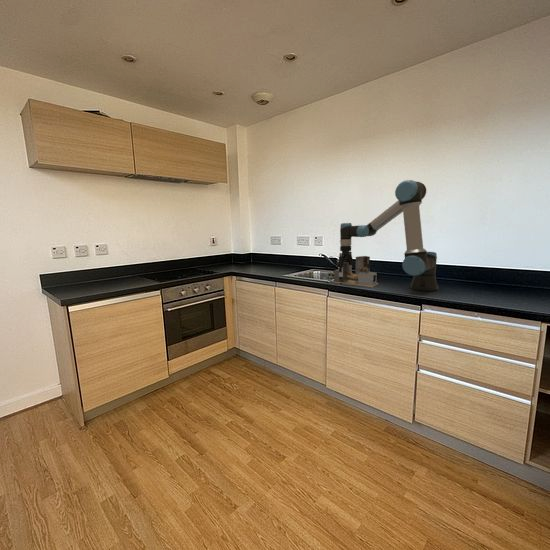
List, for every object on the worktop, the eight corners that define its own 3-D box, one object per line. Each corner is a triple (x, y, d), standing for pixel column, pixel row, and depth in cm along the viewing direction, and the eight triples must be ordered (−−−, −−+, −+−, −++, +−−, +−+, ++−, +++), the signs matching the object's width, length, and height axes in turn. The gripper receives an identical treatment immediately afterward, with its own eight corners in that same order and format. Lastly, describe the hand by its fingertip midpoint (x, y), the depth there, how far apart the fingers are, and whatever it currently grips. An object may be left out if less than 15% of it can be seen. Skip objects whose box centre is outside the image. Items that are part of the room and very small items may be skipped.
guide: (378, 284, 193) (378, 272, 192) (372, 287, 186) (373, 274, 184) (338, 280, 213) (338, 269, 211) (331, 282, 205) (331, 271, 204)
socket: (343, 280, 208) (344, 269, 207) (339, 281, 203) (339, 270, 201) (339, 279, 211) (339, 269, 210) (333, 281, 205) (334, 270, 204)
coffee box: (364, 275, 228) (364, 255, 226) (369, 277, 222) (370, 256, 220) (354, 276, 225) (355, 256, 222) (360, 278, 219) (360, 257, 216)
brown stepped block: (363, 281, 196) (364, 263, 194) (361, 282, 194) (362, 263, 192) (340, 279, 208) (340, 261, 206) (337, 280, 205) (337, 262, 203)
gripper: (348, 244, 211) (348, 272, 215) (332, 246, 192) (332, 277, 196) (358, 244, 206) (357, 273, 210) (342, 246, 188) (342, 278, 191)
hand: (345, 275), depth 203 cm, fingers open, 13 cm apart
